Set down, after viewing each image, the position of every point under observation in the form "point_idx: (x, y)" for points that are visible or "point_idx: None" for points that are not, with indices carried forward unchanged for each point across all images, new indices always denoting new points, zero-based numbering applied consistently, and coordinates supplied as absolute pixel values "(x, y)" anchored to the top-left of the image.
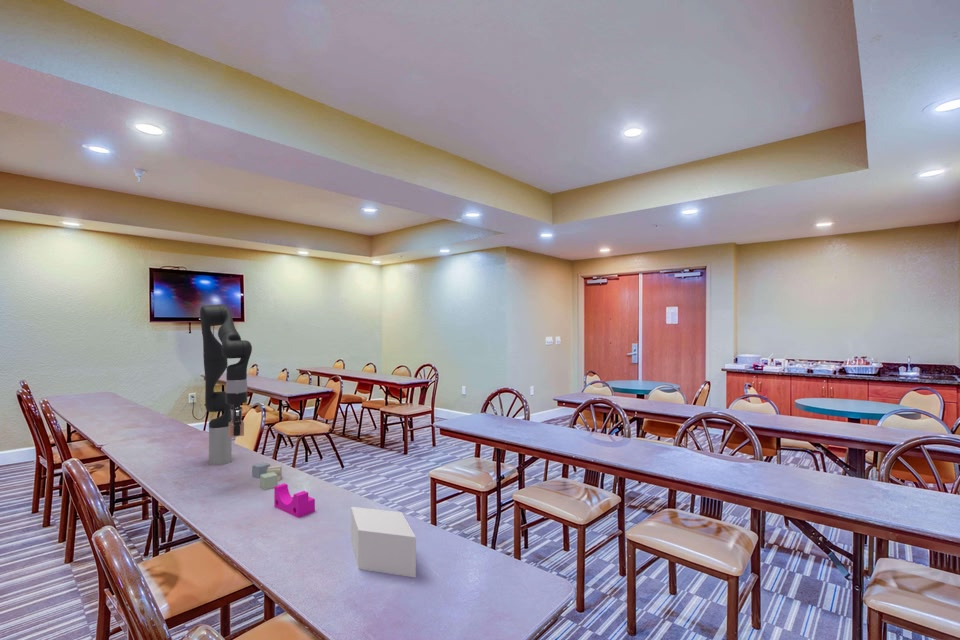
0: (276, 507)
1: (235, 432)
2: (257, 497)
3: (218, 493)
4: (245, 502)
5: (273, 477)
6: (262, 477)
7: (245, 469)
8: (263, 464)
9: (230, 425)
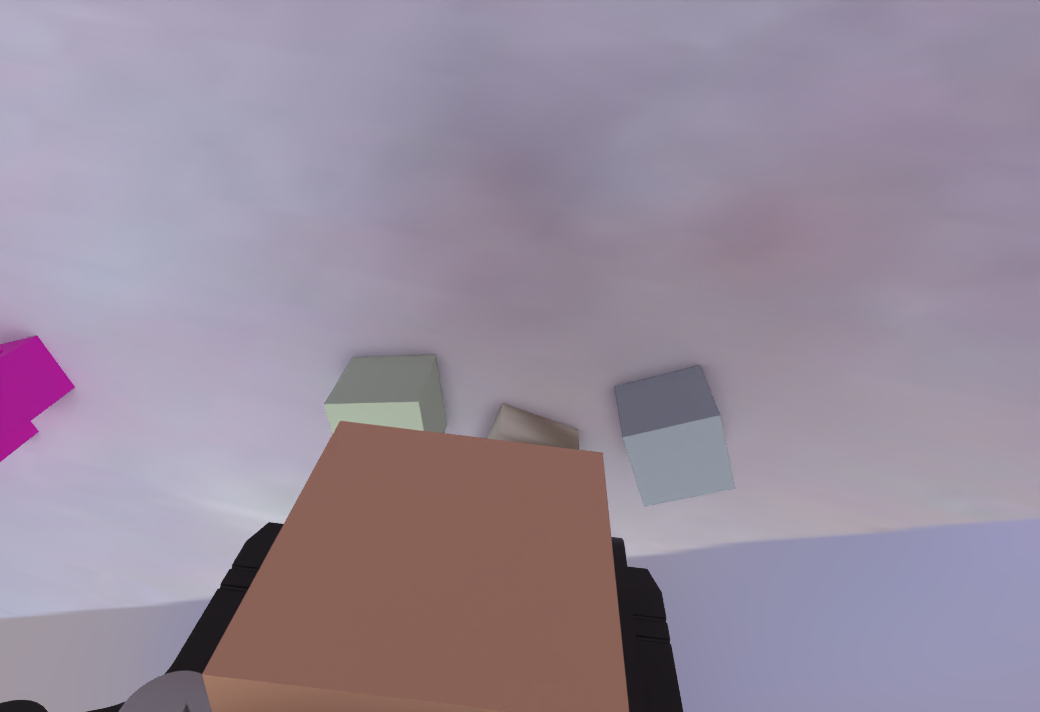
0: (14, 341)
1: (239, 564)
2: (243, 300)
3: (478, 97)
4: (180, 222)
5: None
6: (361, 400)
7: (926, 368)
8: (671, 474)
9: (221, 656)
